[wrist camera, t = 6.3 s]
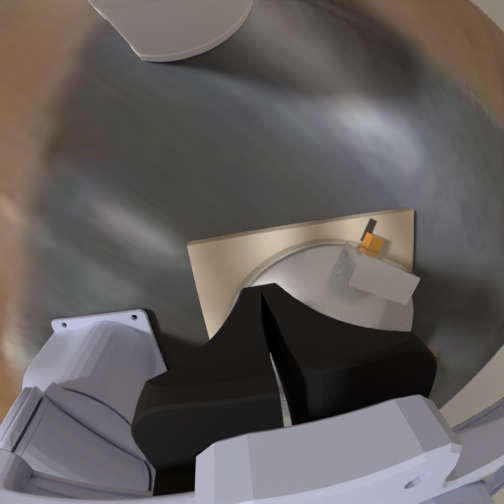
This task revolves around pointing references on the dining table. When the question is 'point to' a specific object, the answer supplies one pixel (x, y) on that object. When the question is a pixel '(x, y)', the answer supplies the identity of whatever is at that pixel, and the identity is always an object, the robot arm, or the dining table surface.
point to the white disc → (340, 285)
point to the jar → (174, 24)
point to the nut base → (279, 238)
